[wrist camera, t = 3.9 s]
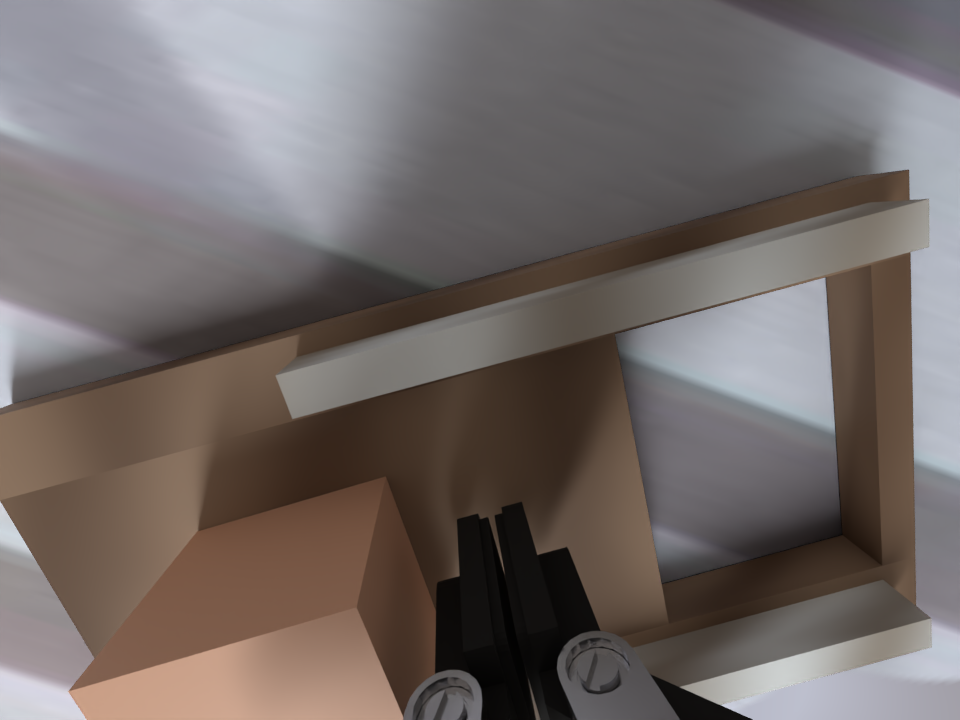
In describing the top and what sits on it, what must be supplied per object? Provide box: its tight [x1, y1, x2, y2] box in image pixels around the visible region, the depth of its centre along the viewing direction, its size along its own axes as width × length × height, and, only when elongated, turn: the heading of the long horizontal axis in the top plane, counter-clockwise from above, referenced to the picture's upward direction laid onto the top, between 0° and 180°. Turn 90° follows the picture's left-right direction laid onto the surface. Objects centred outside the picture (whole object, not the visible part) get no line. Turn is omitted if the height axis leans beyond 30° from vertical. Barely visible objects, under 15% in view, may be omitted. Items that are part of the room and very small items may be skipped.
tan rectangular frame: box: [0, 170, 932, 720], centre depth 13 cm, size 23×13×3 cm, turn 105°
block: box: [68, 476, 436, 720], centre depth 11 cm, size 5×5×4 cm
